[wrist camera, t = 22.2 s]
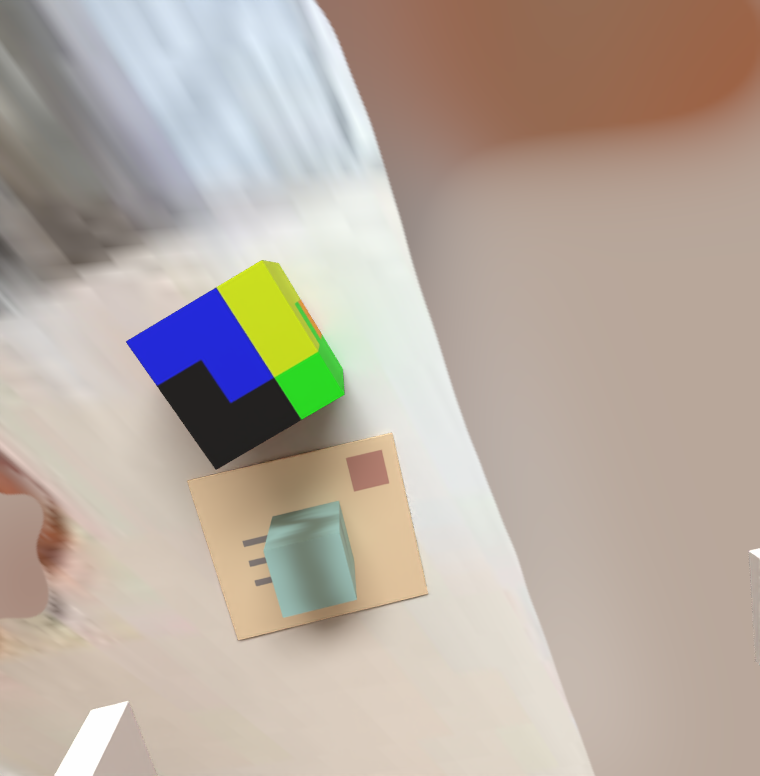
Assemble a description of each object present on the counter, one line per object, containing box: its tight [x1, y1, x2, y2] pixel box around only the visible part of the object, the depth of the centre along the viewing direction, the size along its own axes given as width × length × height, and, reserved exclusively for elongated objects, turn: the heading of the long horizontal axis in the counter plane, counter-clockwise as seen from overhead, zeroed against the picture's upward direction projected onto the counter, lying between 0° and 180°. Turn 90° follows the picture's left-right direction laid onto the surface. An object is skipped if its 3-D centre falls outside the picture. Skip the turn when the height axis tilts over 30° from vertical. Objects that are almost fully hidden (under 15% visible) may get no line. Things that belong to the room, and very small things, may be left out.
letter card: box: [187, 433, 428, 640], centre depth 48 cm, size 18×16×1 cm
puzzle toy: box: [126, 260, 345, 469], centre depth 39 cm, size 10×10×10 cm
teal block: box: [264, 501, 357, 618], centre depth 45 cm, size 6×6×6 cm
